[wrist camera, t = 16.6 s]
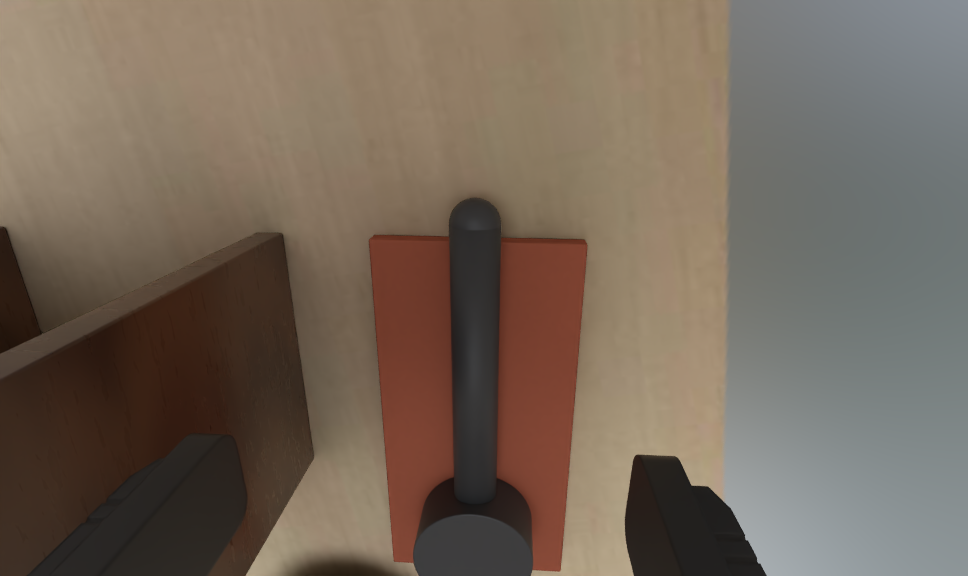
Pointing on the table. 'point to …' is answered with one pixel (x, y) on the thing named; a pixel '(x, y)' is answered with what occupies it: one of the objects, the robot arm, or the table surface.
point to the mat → (521, 381)
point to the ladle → (474, 422)
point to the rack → (150, 396)
